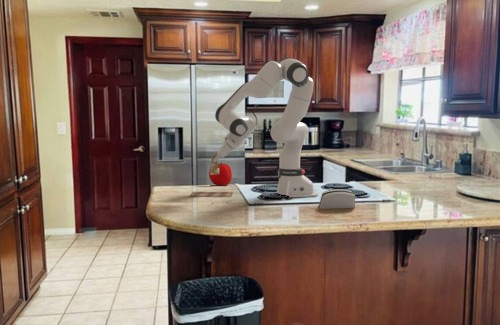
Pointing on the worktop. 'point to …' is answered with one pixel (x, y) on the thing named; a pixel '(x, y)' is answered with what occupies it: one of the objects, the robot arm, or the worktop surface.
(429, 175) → the worktop surface
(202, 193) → the walnut board
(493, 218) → the worktop surface
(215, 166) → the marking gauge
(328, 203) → the grey arched slab
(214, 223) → the worktop surface
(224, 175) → the tomato
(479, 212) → the worktop surface
